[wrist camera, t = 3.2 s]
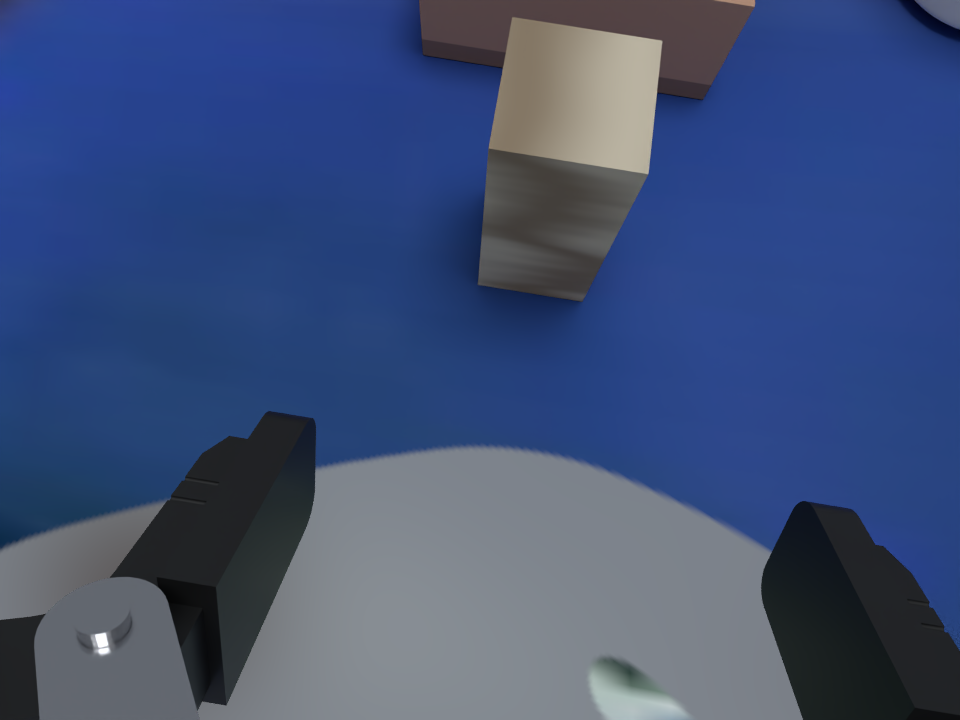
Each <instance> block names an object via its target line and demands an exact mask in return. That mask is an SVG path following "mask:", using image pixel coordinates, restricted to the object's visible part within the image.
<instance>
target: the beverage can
mask: <svg viewBox="0 0 960 720" xmlns="http://www.w3.org/2000/svg"><path fill="white" fill-rule="evenodd" d="M915 1H916V2H917V3H918V4H919V5H920V6H921V7H922V8H923V9H924V10H925V11H927V12H928V13H929V14H931V15H932V16H933V17H935V18H937V19H938V20H940V21H942V22H943V23H945V24H947V25H949V26H952V27H954V28H957V29H959V30H960V0H915Z"/></svg>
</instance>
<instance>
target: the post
mask: <svg viewBox="0 0 960 720" xmlns="http://www.w3.org/2000/svg"><path fill="white" fill-rule="evenodd" d="M661 49H662V41H661V40H655V39H648V38H642V37H636V36H629V35H623V34H617V33H610V32H604V31H598V30H592V29H585V28H579V27H573V26H566V25H560V24H554V23H547V22H541V21H535V20H528V19H522V18H516V17H512V21H511V27H510V33H509V38H508V44H507V49H506V55H505V60H504V66H503V71H502V77H501V83H500V88H499V94H498V99H497V105H496V110H495V116H494V122H493V127H492V133H491V138H490V144H489V150H488V163H487V176H486V189H485V201H484V214H483V227H482V240H481V252H480V265H479V278H478V285H483V286H489V287H495V288H501V289H507V290H514V291H520V292H526V293H532V294H538V295H544V296H550V297H556V298H563V299H569V300H575V301H581V302H582V301H583V299H584V297H585V295H586V293H587V291H588V290H589V288H590V286H591V284H592V282H593V280H594V278H595V276H596V274H597V272H598V270H599V268H600V266H601V264H602V263H603V261H604V259H605V257H606V255H607V253H608V251H609V249H610V247H611V245H612V243H613V241H614V239H615V237H616V235H617V234H618V232H619V230H620V228H621V226H622V224H623V222H624V220H625V218H626V216H627V214H628V212H629V210H630V208H631V207H632V205H633V203H634V201H635V199H636V197H637V195H638V193H639V191H640V189H641V187H642V185H643V183H644V181H645V180H646V178H647V176H648V172H649V163H650V153H651V144H652V134H653V125H654V115H655V106H656V97H657V87H658V78H659V68H660V59H661Z"/></svg>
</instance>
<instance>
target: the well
mask: <svg viewBox="0 0 960 720" xmlns="http://www.w3.org/2000/svg"><path fill="white" fill-rule="evenodd" d="M419 5H420V19H421V33H422V48H423V55H427V56H433V57H439V58H445V59H452V60H458V61H464V62H470V63H477V64H483V65H489V66H495V67H502V68H503V66H504V60H505V55H506V49H507V44H508V38H509V33H510V27H511V21H512V17H516V18H522V19H528V20H535V21H541V22H547V23H554V24H560V25H566V26H573V27H579V28H585V29H592V30H598V31H604V32H610V33H617V34H623V35H629V36H636V37H642V38H648V39H655V40H661V41H662V49H661V59H660V68H659V78H658V87H657V92H658V93H664V94H671V95H677V96H683V97H690V98H696V99H702V100H703V99H704V97H705V95H706V93H707V92H708V90H709V88H710V86H711V84H712V83H713V81H714V79H715V77H716V75H717V74H718V72H719V70H720V68H721V66H722V65H723V63H724V61H725V59H726V57H727V56H728V54H729V52H730V50H731V48H732V47H733V45H734V43H735V41H736V39H737V38H738V36H739V34H740V32H741V30H742V29H743V27H744V25H745V23H746V21H747V20H748V18H749V16H750V14H751V12H752V11H753V9H754V7H755V0H419Z"/></svg>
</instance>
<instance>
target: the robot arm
mask: <svg viewBox="0 0 960 720" xmlns="http://www.w3.org/2000/svg"><path fill="white" fill-rule="evenodd" d="M315 450H316V425H315V421H314V419H313V418H308V417H302V416H296V415H290V414H284V413H278V412H271V411H268V412H267V413H265V415H264V416H263V417H262V419H261V420H260V422H259V423H258V425H257V426H256V428H255V429H254V431H253V432H252V434H251V435H250V437H249V438H248V439H244V438H238V437H232V436H229V437H227V438H226V439H224V440H223V441H221V442H219V443H218V444H216V445H215V446H213V447H212V448H210V449H209V450H207V451H205V452H204V453H202V455H201V456H200V457H199V459H198V460H197V461H196V463H195V464H194V465H193V467H192V468H191V469H190V471H189V472H188V474H187V475H186V476H185V481H182V482H181V483H180V484H179V486H178V487H177V488H176V490H175V491H174V492H173V494H172V495H171V499H170V501H169V500H167V502H166V503H165V505H164V506H163V507H162V509H161V510H160V511H159V513H158V514H157V515H156V517H155V518H154V519H153V521H152V522H151V524H150V525H149V526H148V527H147V529H146V530H145V532H144V533H143V534H142V536H141V537H140V538H139V540H138V541H137V542H136V544H135V545H134V546H133V548H132V549H131V550H130V552H129V553H128V554H127V556H126V557H125V558H124V560H123V561H122V563H121V564H120V565H119V567H118V568H117V570H116V571H115V572H114V573H113V574H112V576H111V577H110V578H107V579H103V580H99V581H95V582H92V583H90V584H87V585H85V586H83V587H80V588H78V589H76V590H75V591H73V592H71V593H69V594H68V595H66V596H65V597H64V598H62V599H61V600H60V601H58V602H57V603H56V604H55V605H54V606H53V607H52V608H51V609H50V610H49V611H48V612H47V613H46V614H43V615H38V616H32V617H24V618H15V619H6V620H0V720H199V716H198V712H197V711H198V709H199V707H200V705H201V702H202V701H203V702H209V703H215V704H221V705H227V703H228V701H229V699H230V696H231V694H232V692H233V690H234V687H235V685H236V683H237V681H238V678H239V676H240V674H241V672H242V669H243V667H244V665H245V663H246V661H247V658H248V656H249V654H250V652H251V649H252V647H253V645H254V643H255V641H256V638H257V636H258V634H259V632H260V629H261V627H262V625H263V623H264V620H265V618H266V616H267V614H268V611H269V609H270V607H271V605H272V603H273V600H274V598H275V596H276V594H277V591H278V589H279V587H280V585H281V583H282V580H283V578H284V576H285V573H286V571H287V569H288V567H289V565H290V562H291V560H292V558H293V556H294V553H295V551H296V549H297V547H298V544H299V542H300V540H301V538H302V536H303V533H304V531H305V529H306V527H307V524H308V521H309V518H310V514H311V511H312V506H313V501H314V493H315ZM761 589H762V590H761V592H762V600H763V604H764V608H765V611H766V614H767V617H768V620H769V623H770V625H771V628H772V631H773V634H774V637H775V640H776V643H777V646H778V648H779V651H780V654H781V657H782V660H783V663H784V666H785V669H786V672H787V674H788V677H789V680H790V683H791V686H792V689H793V692H794V695H795V697H796V700H797V703H798V706H799V709H800V712H801V715H802V718H803V720H960V651H959V649H958V648H957V646H956V645H955V643H954V641H953V640H952V638H951V636H950V635H949V633H946V632H944V625H943V624H942V622H941V620H940V619H939V617H938V615H937V614H936V612H935V611H934V609H933V608H929V601H928V599H927V598H926V596H925V594H924V593H923V591H922V590H921V588H920V586H919V585H918V583H917V581H916V580H915V578H914V577H913V575H912V573H911V572H910V571H908V570H907V569H906V568H905V567H904V566H903V565H902V564H901V563H900V562H899V561H898V560H897V559H896V558H895V557H894V556H893V555H892V554H891V553H890V552H889V551H888V550H886V549H885V548H884V547H883V546H879V545H875V544H874V542H873V540H872V538H871V537H870V535H869V533H868V532H867V530H866V528H865V527H864V525H863V523H862V521H861V520H860V518H859V516H858V515H857V514H856V513H855V512H854V511H853V510H851V509H848V508H842V507H836V506H830V505H824V504H818V503H812V502H806V501H802V502H800V503H798V504H797V505H796V506H795V507H794V509H793V511H792V513H791V515H790V517H789V519H788V521H787V523H786V525H785V527H784V529H783V531H782V533H781V535H780V537H779V539H778V541H777V543H776V545H775V547H774V549H773V551H772V553H771V555H770V557H769V559H768V561H767V564H766V566H765V568H764V571H763V576H762V584H761Z"/></svg>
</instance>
